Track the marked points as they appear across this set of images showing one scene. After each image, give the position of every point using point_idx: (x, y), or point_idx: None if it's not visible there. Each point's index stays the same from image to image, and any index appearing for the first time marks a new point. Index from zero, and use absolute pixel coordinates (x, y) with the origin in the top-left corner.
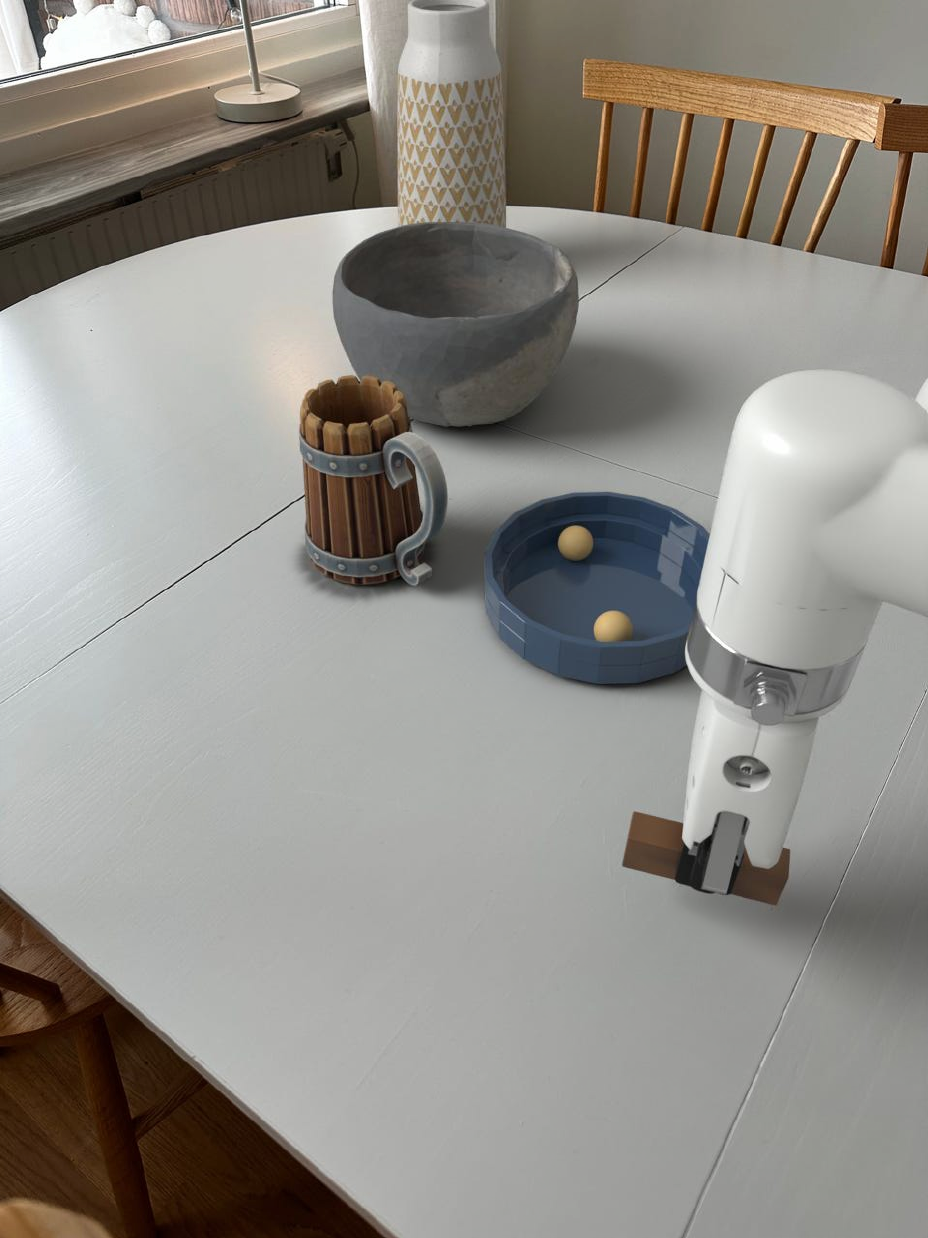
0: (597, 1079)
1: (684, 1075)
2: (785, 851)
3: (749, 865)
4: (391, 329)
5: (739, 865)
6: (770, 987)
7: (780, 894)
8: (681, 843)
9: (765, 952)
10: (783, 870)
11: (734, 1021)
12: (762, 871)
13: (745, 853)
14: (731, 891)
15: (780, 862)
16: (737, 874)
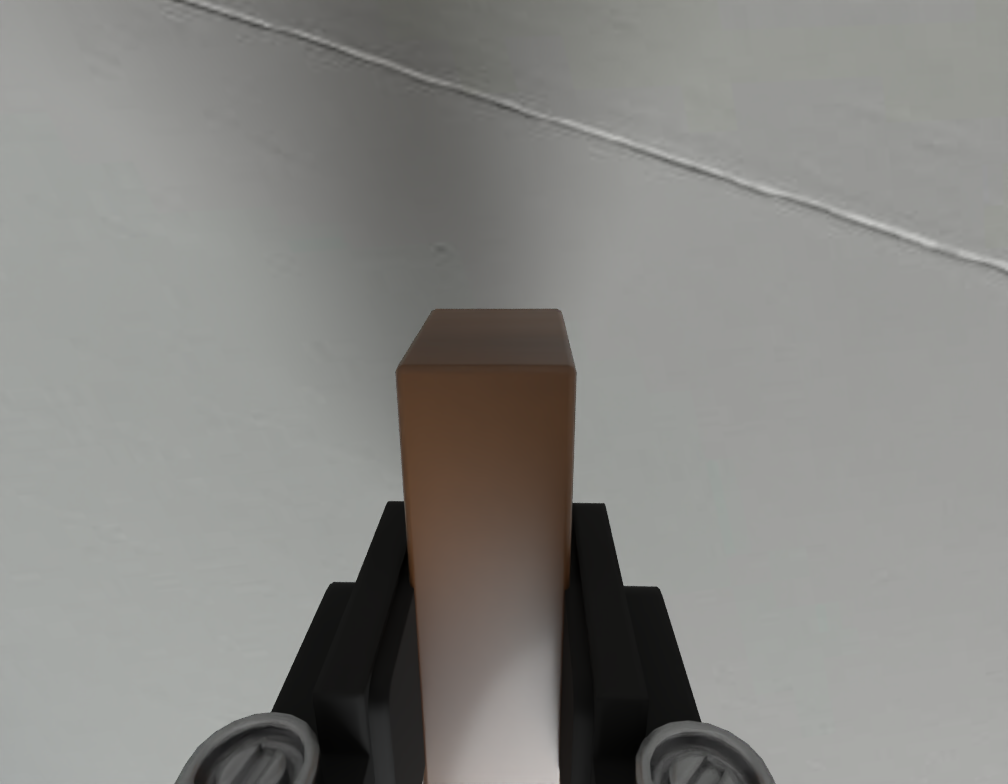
0: (990, 592)
1: (971, 424)
2: (417, 389)
3: (553, 538)
4: None
5: (632, 640)
6: (698, 234)
7: (566, 332)
8: (524, 776)
9: (590, 256)
10: (541, 396)
11: (815, 321)
12: (571, 485)
13: (496, 561)
14: (604, 510)
15: (495, 411)
16: (620, 584)
